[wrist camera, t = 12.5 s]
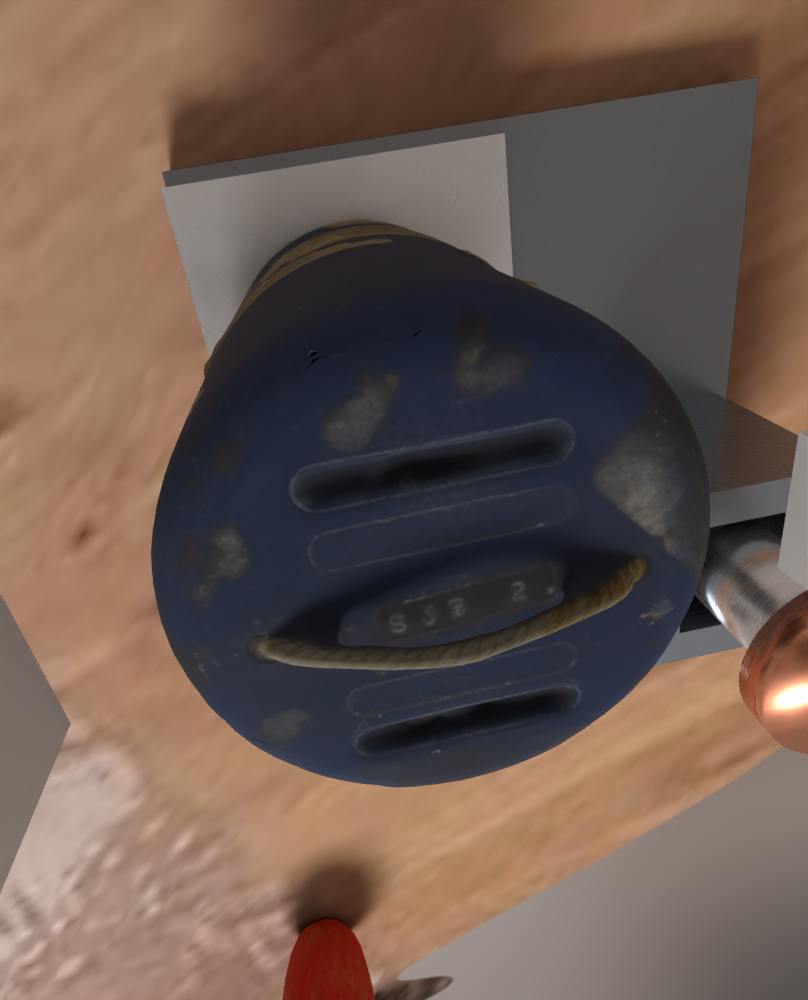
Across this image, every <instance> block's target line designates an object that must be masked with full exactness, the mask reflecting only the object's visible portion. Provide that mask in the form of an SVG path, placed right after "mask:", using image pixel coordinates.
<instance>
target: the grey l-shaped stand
mask: <svg viewBox="0 0 808 1000" xmlns="http://www.w3.org/2000/svg"><path fill="white" fill-rule="evenodd" d="M758 82H759V77H758V78H752V79H745V80H739V81H733V82H726V83H720V84H714V85H707V86H701V87H695V88H688V89H682V90H676V91H670V92H663V93H657V94H651V95H644V96H638V97H632V98H625V99H619V100H613V101H606V102H600V103H594V104H588V105H581V106H575V107H569V108H562V109H556V110H550V111H543V112H537V113H531V114H524V115H518V116H512V117H505V118H499V119H493V120H487V121H480V122H474V123H468V124H461V125H455V126H449V127H442V128H436V129H430V130H423V131H417V132H411V133H405V134H398V135H392V136H386V137H379V138H373V139H367V140H360V141H354V142H348V143H341V144H335V145H329V146H323V147H316V148H310V149H304V150H297V151H291V152H285V153H278V154H272V155H266V156H259V157H253V158H247V159H240V160H234V161H228V162H222V163H215V164H209V165H203V166H196V167H190V168H184V169H177V170H171V171H165V172H162V174H163V178H164V181H165V185H166V187H164V188H161V191H162V194H163V198H164V201H165V205H166V208H167V212H168V215H169V219H170V222H171V225H172V229H173V232H174V236H175V239H176V243H177V246H178V250H179V253H180V256H181V260H182V263H183V267H184V270H185V274H186V277H187V281H188V284H189V287H190V291H191V294H192V298H193V301H194V305H195V308H196V311H197V315H198V318H199V322H200V325H201V329H202V332H203V336H204V339H205V342H206V346H207V349H208V353H209V356H210V357H211V354H212V352H213V350H214V347H215V345H216V343H217V342H218V341H219V339H220V338H221V337H222V335H223V334H224V332H225V331H226V330H227V328H228V326H229V325H230V323H231V321H232V319H233V317H234V316H235V314H236V312H237V310H238V308H239V307H240V305H241V303H242V301H243V299H244V297H245V295H246V294H247V292H248V290H249V288H250V286H251V284H252V283H253V281H254V280H255V278H256V277H257V275H258V274H259V272H260V271H261V270H262V268H263V267H264V266H265V265H266V264H267V263H268V261H269V260H270V259H271V258H272V257H273V256H274V255H275V254H277V253H278V252H279V251H280V250H281V249H283V248H284V247H285V246H286V245H288V244H289V243H291V242H292V241H294V240H295V239H297V238H299V237H301V236H302V235H304V234H306V233H308V232H311V231H313V230H315V229H318V228H320V227H323V226H326V225H329V224H334V223H338V222H345V221H354V220H369V221H379V222H386V223H390V224H394V225H398V226H401V227H404V228H407V229H409V230H413V231H416V232H419V233H422V234H425V235H428V236H431V237H434V238H436V239H438V240H441V241H443V242H445V243H448V244H450V245H452V246H454V247H456V248H458V249H462V250H468V251H470V252H471V253H473V254H475V255H477V256H479V257H481V258H482V259H484V260H486V261H487V262H488V263H489V264H490V265H491V266H492V267H494V268H495V269H496V270H498V271H500V272H502V273H505V274H507V275H509V276H511V277H514V278H518V279H522V280H526V281H530V282H534V283H536V284H537V285H538V287H539V289H540V290H542V291H545V292H547V293H549V294H551V295H553V296H555V297H558V298H560V299H562V300H564V301H566V302H568V303H570V304H573V305H575V306H577V307H579V308H581V309H582V310H584V311H586V312H588V313H589V314H591V315H593V316H595V317H596V318H598V319H599V320H601V321H602V322H604V323H605V324H607V325H608V326H610V327H611V328H613V329H614V330H616V331H617V332H618V333H619V334H621V335H622V336H623V337H624V338H626V339H627V340H628V341H629V342H631V343H632V344H633V345H634V346H635V347H636V348H637V349H638V350H639V351H640V352H641V353H642V354H643V355H644V356H645V357H646V358H648V359H649V360H650V361H651V363H652V364H653V365H654V366H655V367H656V368H657V370H658V371H659V372H660V373H661V374H662V376H663V377H664V378H665V379H666V380H667V382H668V383H669V385H670V386H671V388H672V389H673V391H674V392H675V394H676V395H677V397H678V398H679V400H680V402H681V403H682V405H683V407H684V409H685V411H686V412H687V415H688V417H689V419H690V421H691V423H692V425H693V427H694V430H695V433H696V435H697V438H698V441H699V444H700V447H701V450H702V453H703V457H704V460H705V464H706V469H707V475H708V482H709V496H710V527H715V526H720V525H725V524H730V523H735V522H740V521H745V520H750V519H756V520H757V521H758V522H760V523H761V524H762V525H764V526H765V527H766V528H768V529H769V530H770V531H772V532H773V533H774V534H776V535H777V536H778V537H780V538H781V539H782V535H783V529H784V523H785V516H786V510H787V504H788V497H789V491H790V485H791V478H792V472H793V466H794V459H795V453H796V447H797V440H798V435H796V434H794V433H792V432H790V431H788V430H786V429H785V428H783V427H781V426H779V425H777V424H775V423H773V422H771V421H769V420H767V419H765V418H763V417H761V416H759V415H757V414H755V413H754V412H752V411H750V410H748V409H746V408H744V407H742V406H740V405H738V404H736V403H734V402H732V401H730V400H728V399H726V396H727V387H728V377H729V367H730V357H731V347H732V337H733V328H734V318H735V308H736V298H737V288H738V278H739V269H740V259H741V249H742V239H743V229H744V220H745V210H746V200H747V190H748V180H749V170H750V161H751V151H752V141H753V131H754V121H755V111H756V102H757V92H758ZM739 647H743V646H742V645H741V644H740V642H739V641H738V640H737V639H736V638H735V637H734V636H733V635H732V634H731V633H730V632H729V631H728V630H727V629H726V628H725V627H724V625H723V624H722V623H721V622H720V621H719V620H718V619H717V618H716V617H715V616H714V615H713V614H712V613H711V612H710V611H709V610H708V609H707V607H706V606H705V605H704V604H703V603H702V602H701V601H700V600H699V599H698V598H697V597H696V596H695V595H694V597H693V599H692V602H691V604H690V606H689V608H688V610H687V613H686V615H685V617H684V619H683V621H682V622H681V624H680V626H679V628H678V630H677V631H676V633H675V635H674V637H673V638H672V640H671V642H670V643H669V645H668V647H667V648H666V650H665V651H664V653H663V654H662V656H661V657H660V659H659V660H658V662H657V663H656V664H655V665H660V664H664V663H669V662H674V661H678V660H683V659H688V658H692V657H697V656H702V655H706V654H711V653H716V652H720V651H725V650H730V649H734V648H739ZM655 665H654V666H655Z"/></svg>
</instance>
